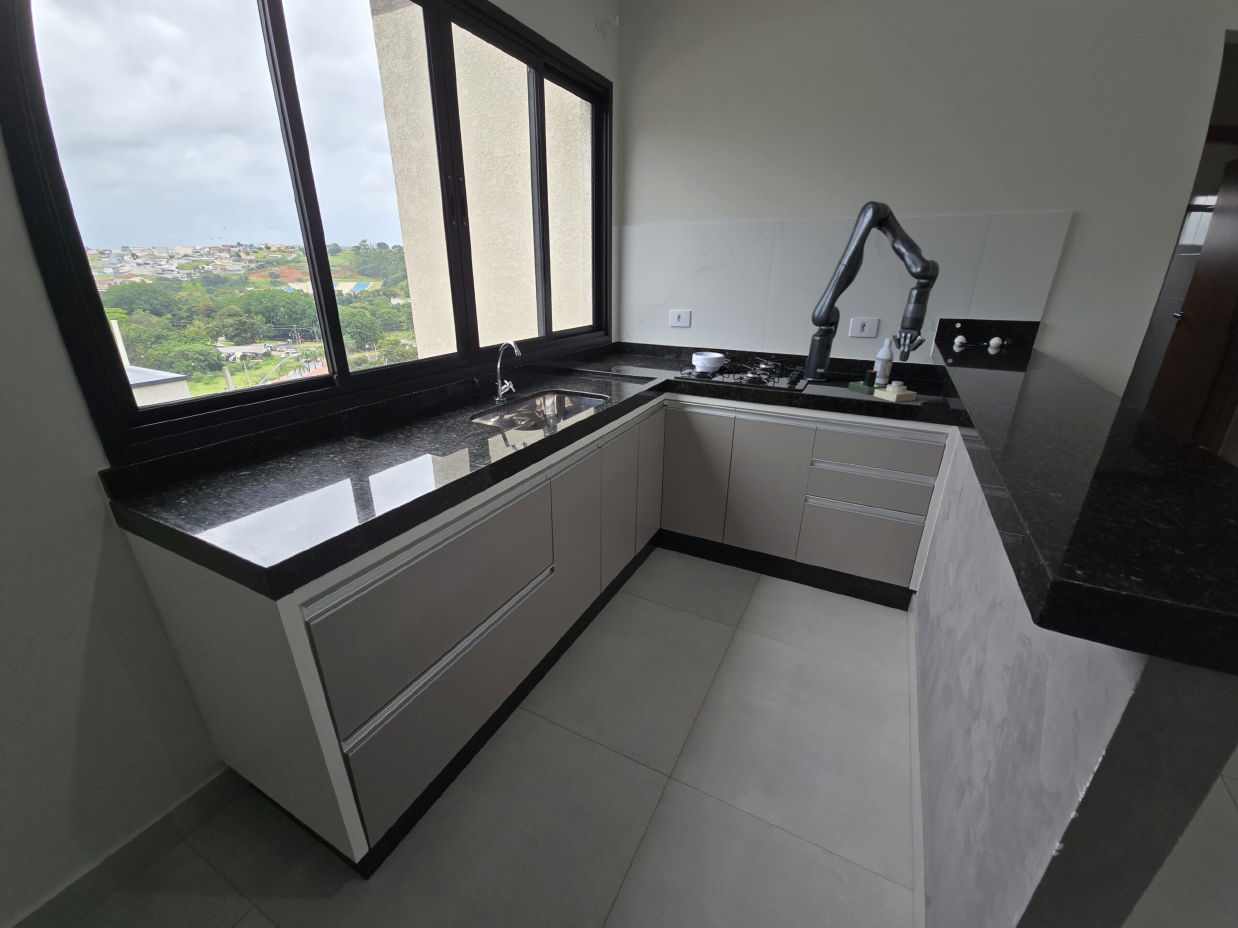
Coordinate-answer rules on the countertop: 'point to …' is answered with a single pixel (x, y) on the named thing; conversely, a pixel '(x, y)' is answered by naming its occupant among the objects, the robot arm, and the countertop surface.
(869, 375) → the dark brown cylinder
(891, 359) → the bath foam
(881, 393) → the cream push button box
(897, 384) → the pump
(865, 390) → the tap panel
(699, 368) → the paper bowls
